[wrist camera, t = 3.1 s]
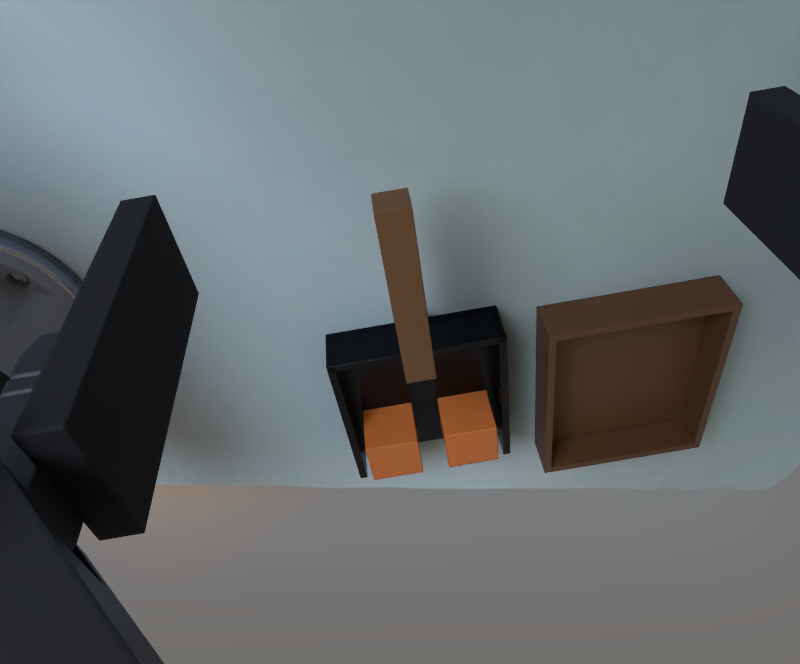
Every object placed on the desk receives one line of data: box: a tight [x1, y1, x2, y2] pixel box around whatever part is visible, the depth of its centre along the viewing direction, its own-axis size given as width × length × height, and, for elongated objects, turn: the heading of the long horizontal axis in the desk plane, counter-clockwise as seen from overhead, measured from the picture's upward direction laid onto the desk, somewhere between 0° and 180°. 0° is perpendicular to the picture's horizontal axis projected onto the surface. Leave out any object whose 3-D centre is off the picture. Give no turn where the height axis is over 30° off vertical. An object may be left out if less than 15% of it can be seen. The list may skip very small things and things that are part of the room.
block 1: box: [363, 403, 423, 480], centre depth 53 cm, size 4×4×4 cm
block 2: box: [437, 390, 498, 467], centre depth 52 cm, size 4×4×4 cm
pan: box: [326, 188, 510, 478], centre depth 44 cm, size 29×13×8 cm, turn 8°
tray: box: [535, 276, 743, 473], centre depth 52 cm, size 17×14×4 cm
